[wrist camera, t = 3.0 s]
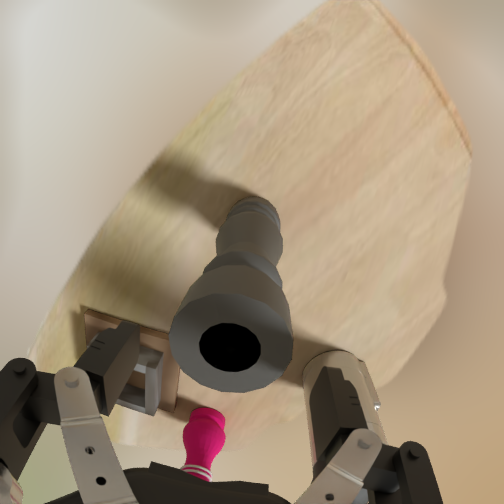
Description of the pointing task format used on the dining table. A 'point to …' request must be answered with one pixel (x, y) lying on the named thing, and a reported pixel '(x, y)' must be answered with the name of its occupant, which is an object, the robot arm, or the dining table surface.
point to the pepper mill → (203, 441)
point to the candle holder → (237, 307)
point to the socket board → (143, 367)
